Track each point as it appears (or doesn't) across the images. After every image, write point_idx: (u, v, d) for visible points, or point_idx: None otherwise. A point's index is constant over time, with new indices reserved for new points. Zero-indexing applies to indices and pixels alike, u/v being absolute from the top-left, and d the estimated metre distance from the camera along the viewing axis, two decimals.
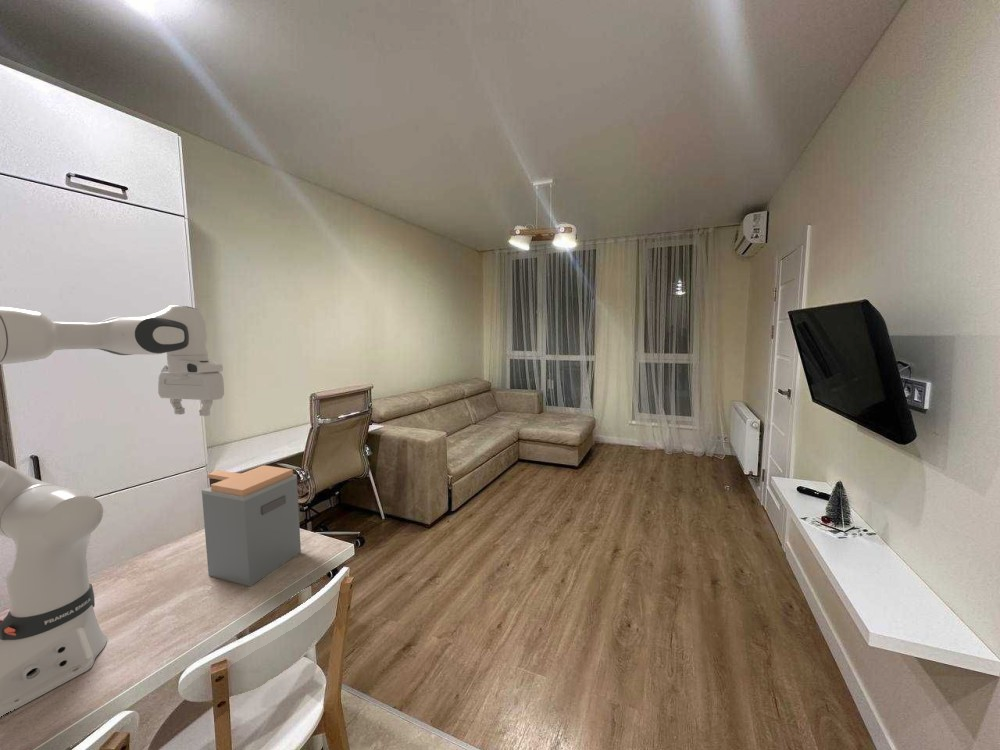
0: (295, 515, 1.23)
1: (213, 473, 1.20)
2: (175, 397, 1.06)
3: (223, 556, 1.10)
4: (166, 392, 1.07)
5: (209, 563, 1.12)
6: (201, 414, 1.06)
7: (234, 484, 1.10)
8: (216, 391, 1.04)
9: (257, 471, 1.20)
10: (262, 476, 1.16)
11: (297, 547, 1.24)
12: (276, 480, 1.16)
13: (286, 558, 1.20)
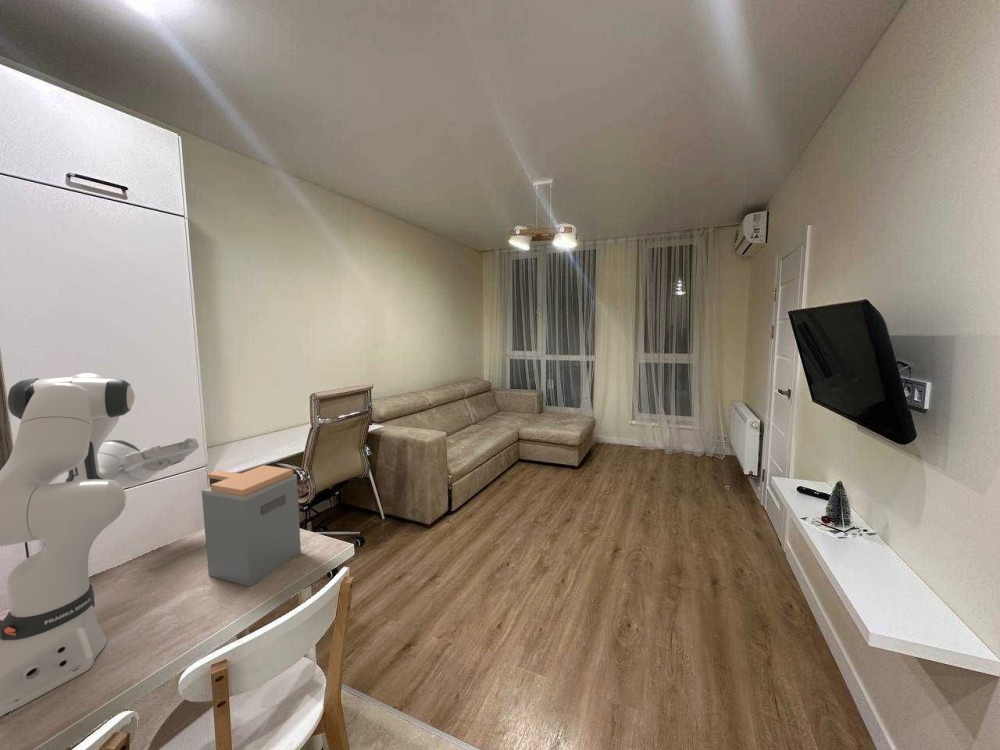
0: (295, 515, 1.23)
1: (213, 473, 1.20)
2: None
3: (223, 556, 1.10)
4: None
5: (209, 563, 1.12)
6: (188, 438, 1.29)
7: (234, 484, 1.10)
8: None
9: (257, 471, 1.20)
10: (262, 476, 1.16)
11: (297, 547, 1.24)
12: (276, 480, 1.16)
13: (286, 558, 1.20)
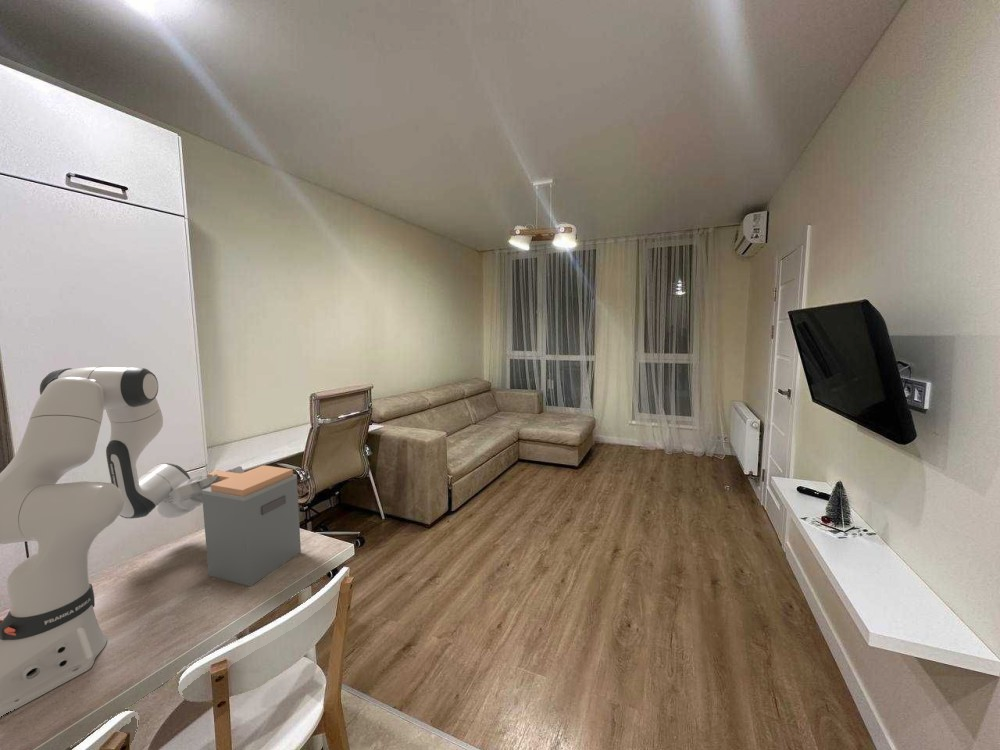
0: (295, 515, 1.23)
1: (213, 473, 1.19)
2: (200, 479, 1.18)
3: (223, 556, 1.10)
4: None
5: (209, 563, 1.12)
6: (229, 470, 1.22)
7: (234, 484, 1.10)
8: None
9: (257, 471, 1.20)
10: (262, 476, 1.16)
11: (297, 547, 1.24)
12: (276, 480, 1.16)
13: (286, 558, 1.20)
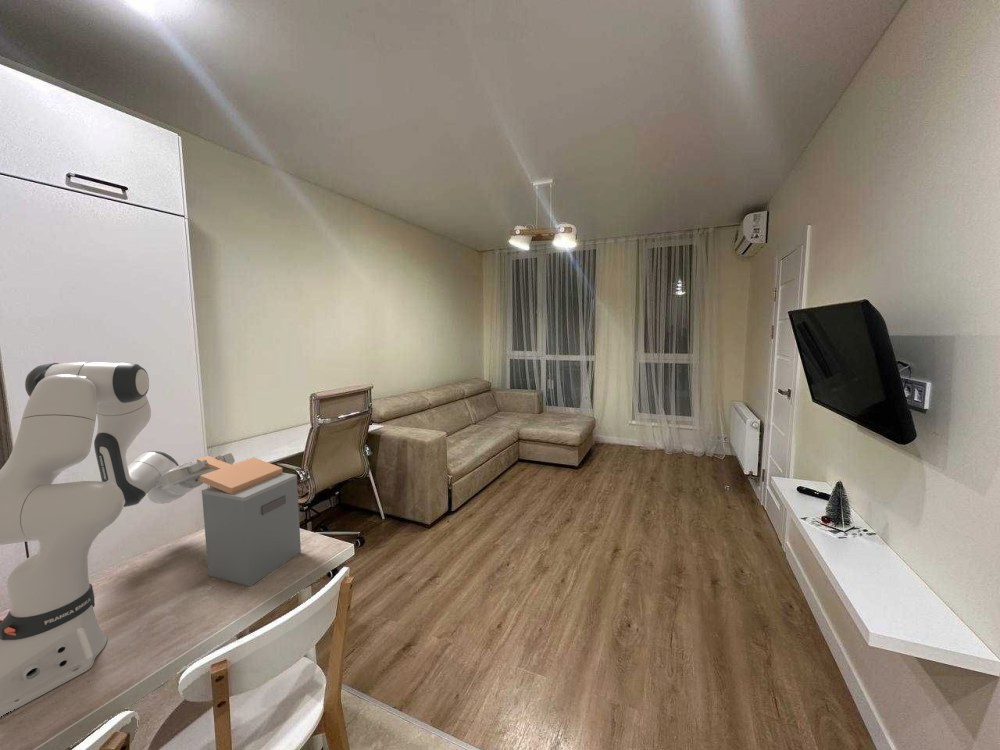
0: (295, 515, 1.23)
1: (203, 459, 1.20)
2: (190, 464, 1.19)
3: (223, 556, 1.10)
4: None
5: (209, 563, 1.12)
6: (218, 456, 1.23)
7: (224, 479, 1.11)
8: None
9: (247, 465, 1.21)
10: (252, 472, 1.17)
11: (297, 547, 1.24)
12: (265, 478, 1.18)
13: (286, 558, 1.20)
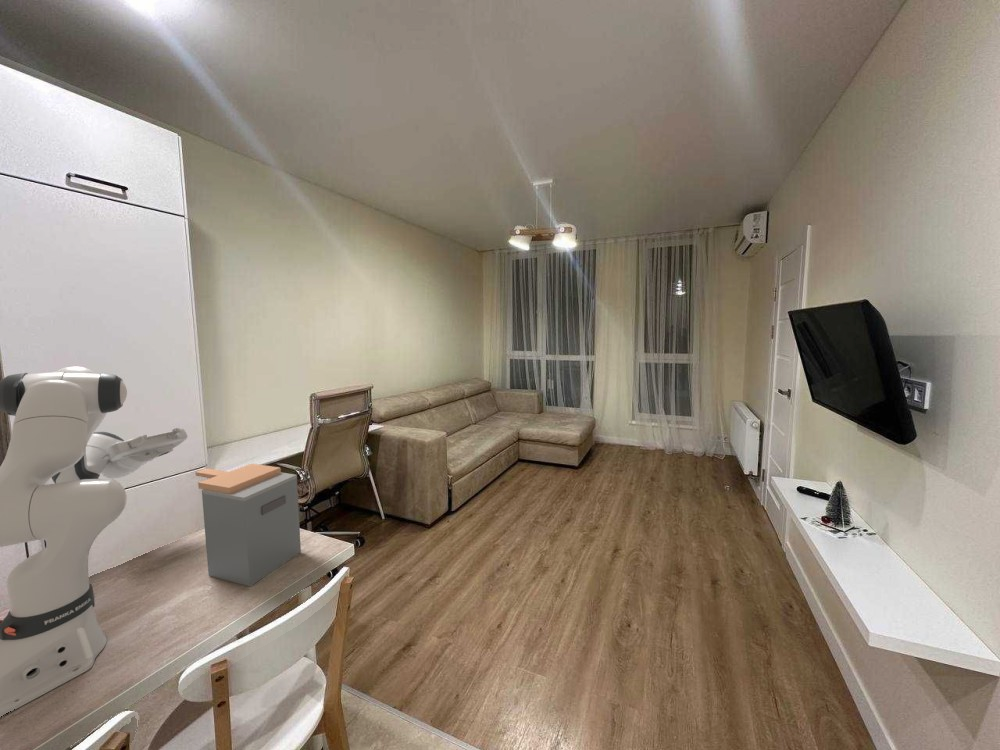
0: (295, 515, 1.23)
1: (201, 471, 1.21)
2: None
3: (223, 556, 1.10)
4: None
5: (209, 563, 1.12)
6: (176, 428, 1.28)
7: (222, 482, 1.11)
8: None
9: (245, 469, 1.21)
10: (249, 474, 1.17)
11: (297, 547, 1.24)
12: (263, 478, 1.18)
13: (286, 558, 1.20)
